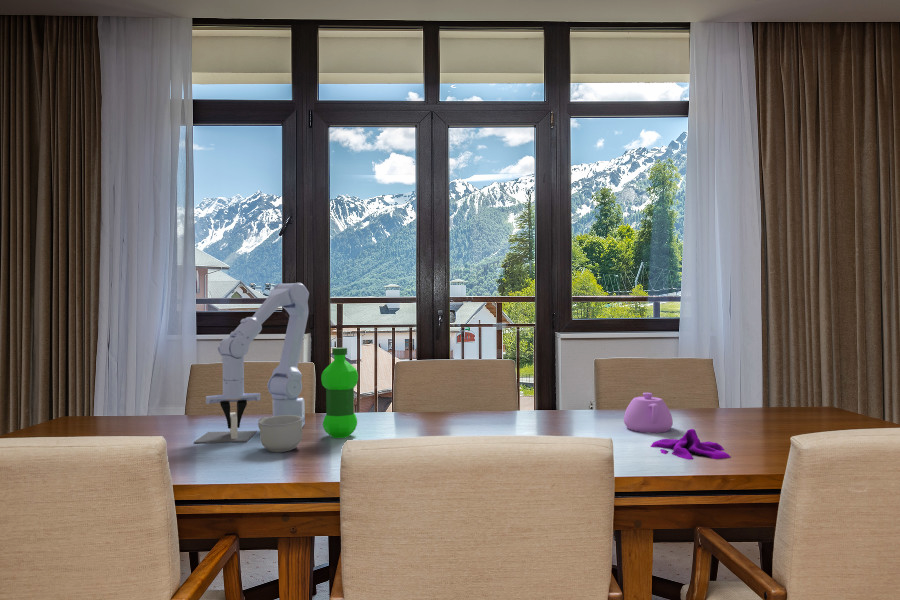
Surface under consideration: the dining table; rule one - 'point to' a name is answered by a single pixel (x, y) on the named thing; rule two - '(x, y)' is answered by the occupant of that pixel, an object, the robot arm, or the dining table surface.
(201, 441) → the mat
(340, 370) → the plastic bottle
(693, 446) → the cloth
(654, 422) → the teapot
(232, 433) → the tile
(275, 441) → the teacup
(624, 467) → the dining table surface
